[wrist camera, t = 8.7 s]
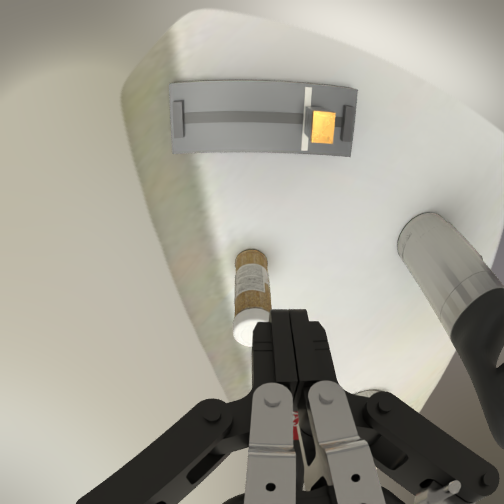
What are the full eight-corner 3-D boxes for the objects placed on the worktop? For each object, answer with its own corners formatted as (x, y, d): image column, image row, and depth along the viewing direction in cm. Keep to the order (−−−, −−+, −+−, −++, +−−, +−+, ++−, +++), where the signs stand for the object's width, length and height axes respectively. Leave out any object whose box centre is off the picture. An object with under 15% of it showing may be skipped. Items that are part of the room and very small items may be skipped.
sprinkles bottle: (264, 275, 45) (271, 349, 33) (232, 273, 44) (230, 347, 33) (270, 249, 42) (279, 322, 31) (236, 246, 42) (235, 319, 30)
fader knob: (324, 107, 29) (335, 112, 26) (322, 134, 31) (332, 143, 28) (305, 105, 29) (313, 110, 26) (303, 133, 31) (311, 142, 28)
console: (351, 88, 30) (360, 90, 28) (345, 152, 35) (353, 159, 32) (173, 82, 29) (166, 84, 27) (176, 149, 34) (170, 156, 31)
